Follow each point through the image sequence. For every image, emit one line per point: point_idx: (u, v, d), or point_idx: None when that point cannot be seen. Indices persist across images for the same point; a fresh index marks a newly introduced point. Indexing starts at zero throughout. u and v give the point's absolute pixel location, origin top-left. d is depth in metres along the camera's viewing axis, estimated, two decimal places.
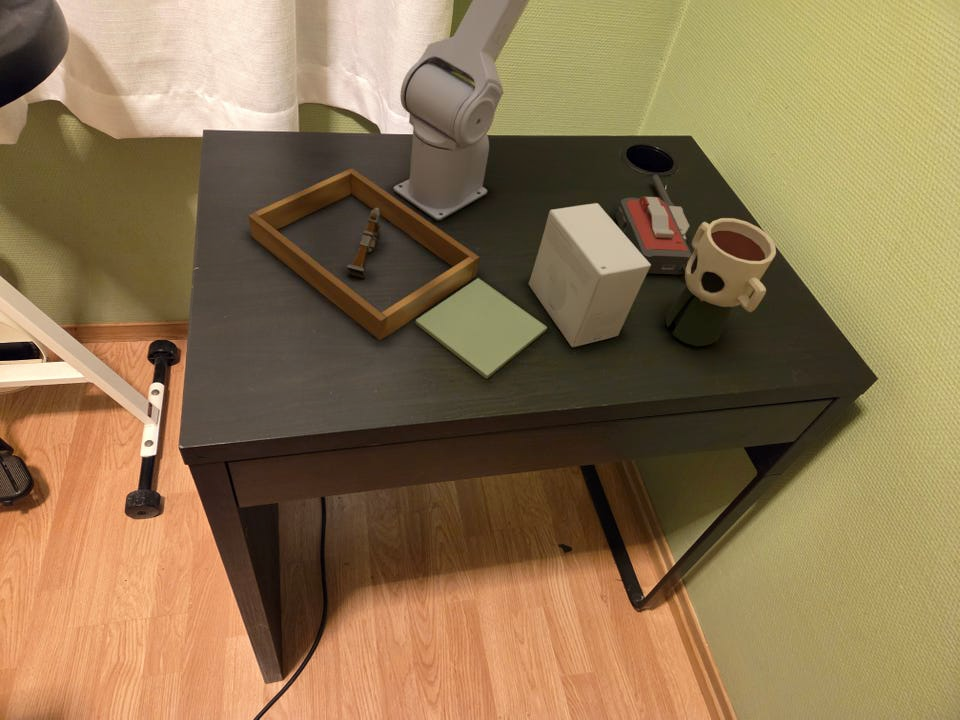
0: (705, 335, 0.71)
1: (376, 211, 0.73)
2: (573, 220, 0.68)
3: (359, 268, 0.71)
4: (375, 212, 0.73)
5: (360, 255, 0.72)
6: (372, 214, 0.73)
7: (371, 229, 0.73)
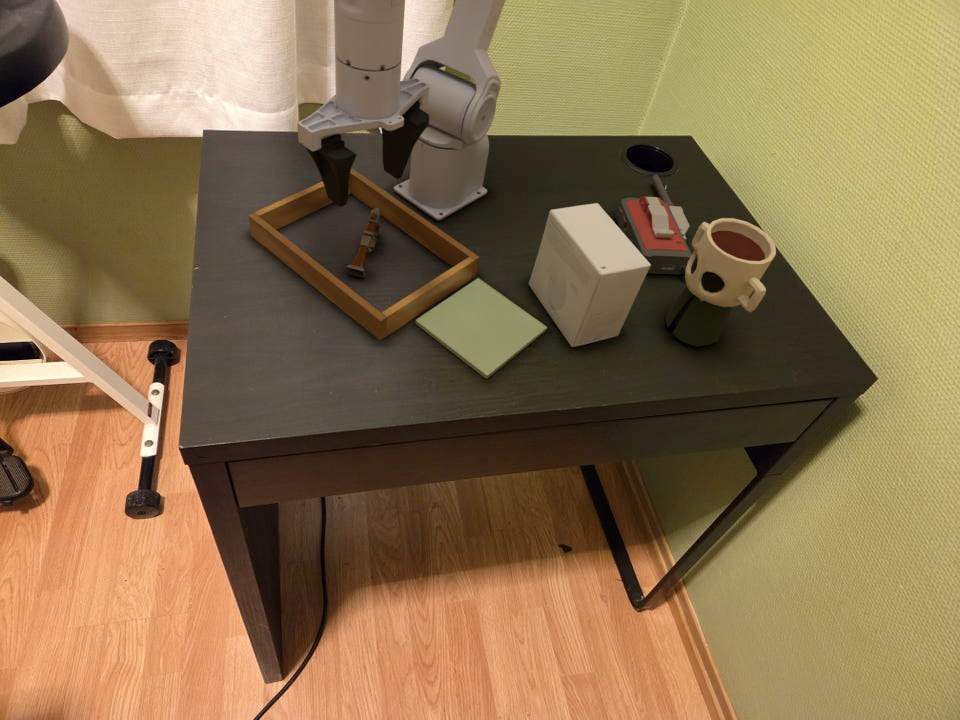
0: (705, 335, 0.71)
1: (376, 211, 0.73)
2: (573, 220, 0.68)
3: (359, 268, 0.71)
4: (375, 212, 0.73)
5: (360, 255, 0.72)
6: (372, 214, 0.73)
7: (371, 229, 0.73)
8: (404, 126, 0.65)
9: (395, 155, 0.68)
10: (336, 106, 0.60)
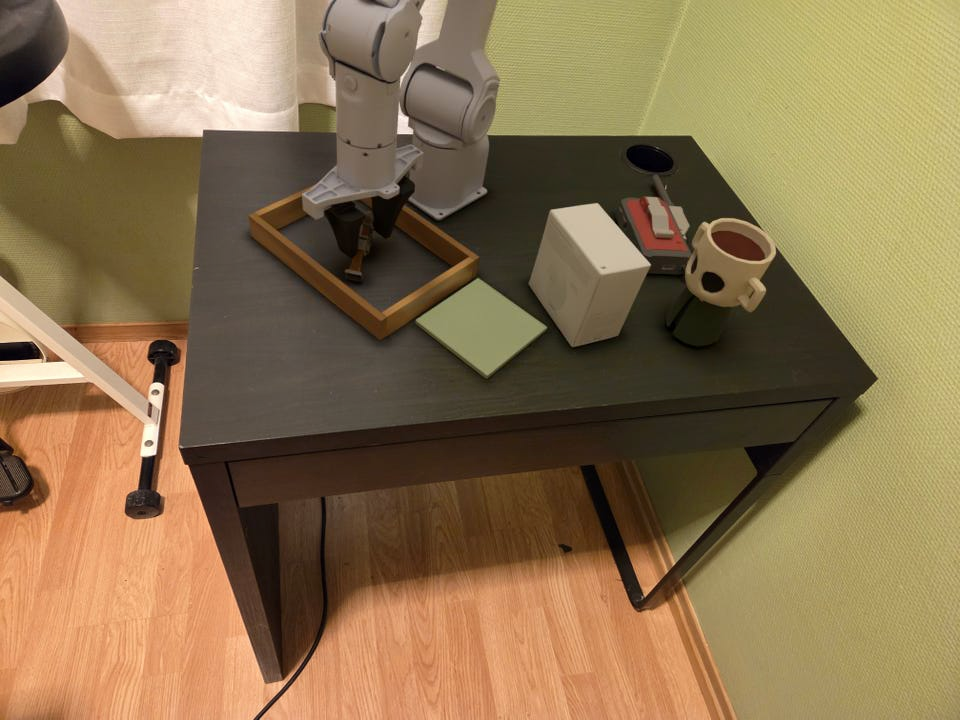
0: (705, 335, 0.71)
1: (370, 214, 0.73)
2: (573, 220, 0.68)
3: (357, 272, 0.71)
4: (369, 215, 0.73)
5: (357, 259, 0.71)
6: (366, 217, 0.72)
7: (366, 233, 0.72)
8: None
9: (383, 218, 0.73)
10: (337, 176, 0.65)
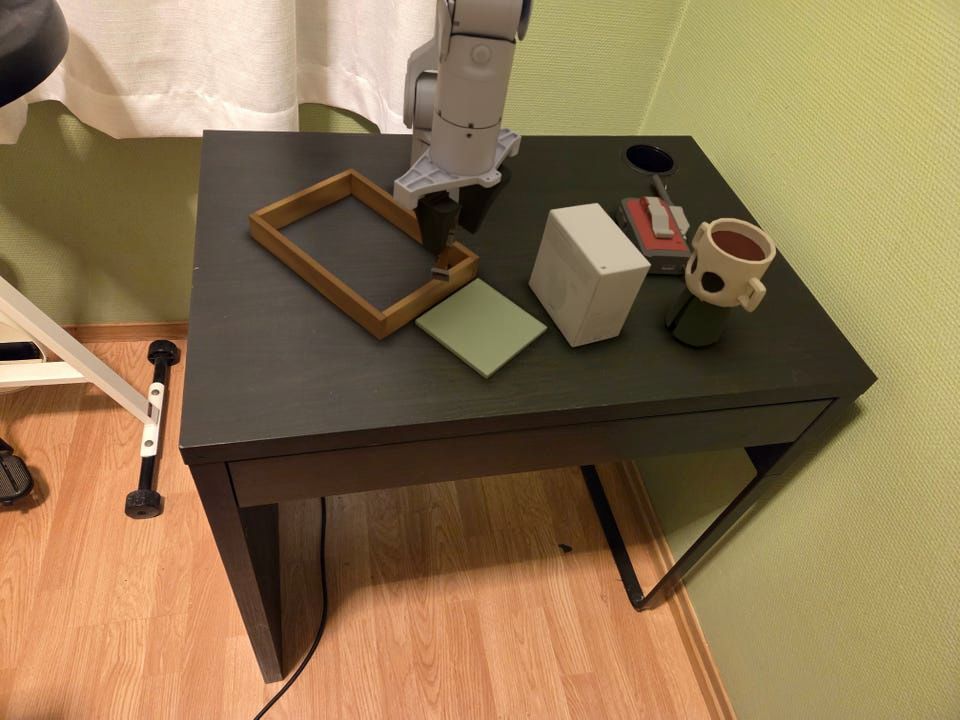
0: (705, 335, 0.71)
1: None
2: (573, 220, 0.68)
3: (445, 271, 0.62)
4: None
5: (443, 257, 0.63)
6: None
7: (453, 227, 0.64)
8: None
9: (472, 210, 0.65)
10: (431, 161, 0.57)
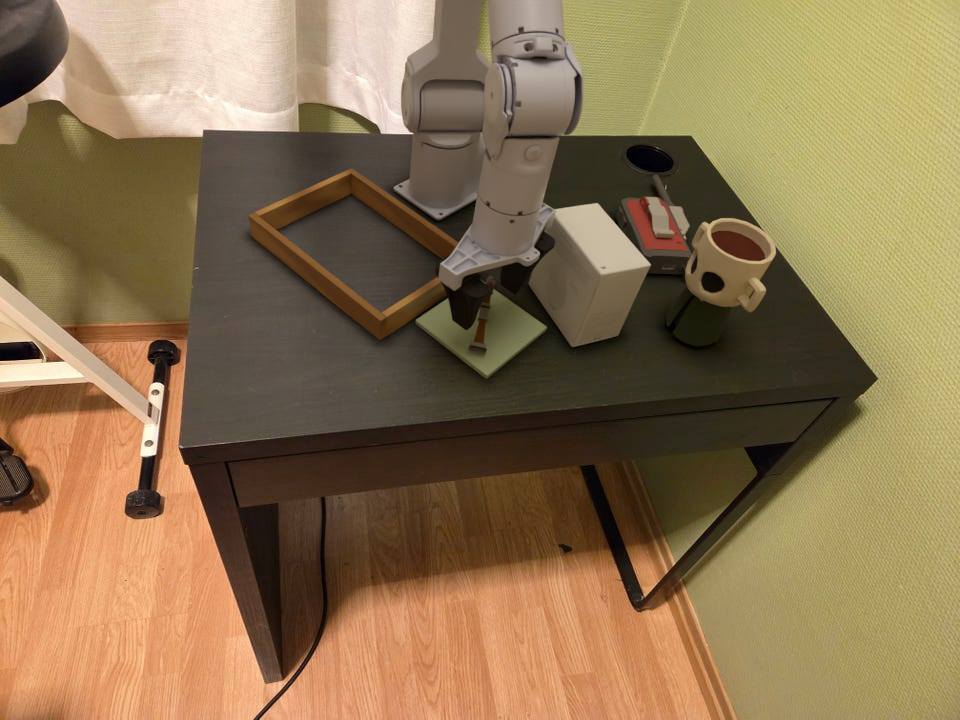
0: (705, 335, 0.71)
1: (491, 280, 0.68)
2: (573, 220, 0.68)
3: (482, 345, 0.66)
4: (491, 281, 0.68)
5: (480, 330, 0.67)
6: (489, 284, 0.67)
7: (488, 300, 0.68)
8: None
9: (515, 274, 0.68)
10: (473, 241, 0.60)
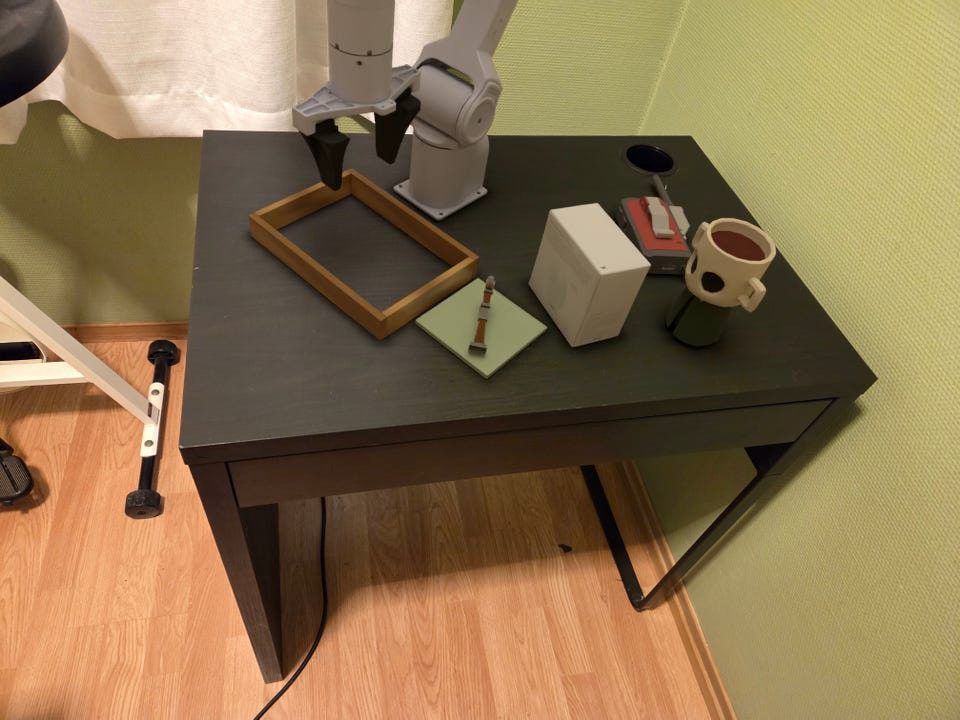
0: (705, 335, 0.71)
1: (492, 280, 0.68)
2: (573, 220, 0.68)
3: (482, 345, 0.66)
4: (491, 281, 0.68)
5: (480, 330, 0.67)
6: (489, 284, 0.67)
7: (488, 300, 0.68)
8: (396, 112, 0.66)
9: (388, 141, 0.69)
10: (329, 91, 0.61)
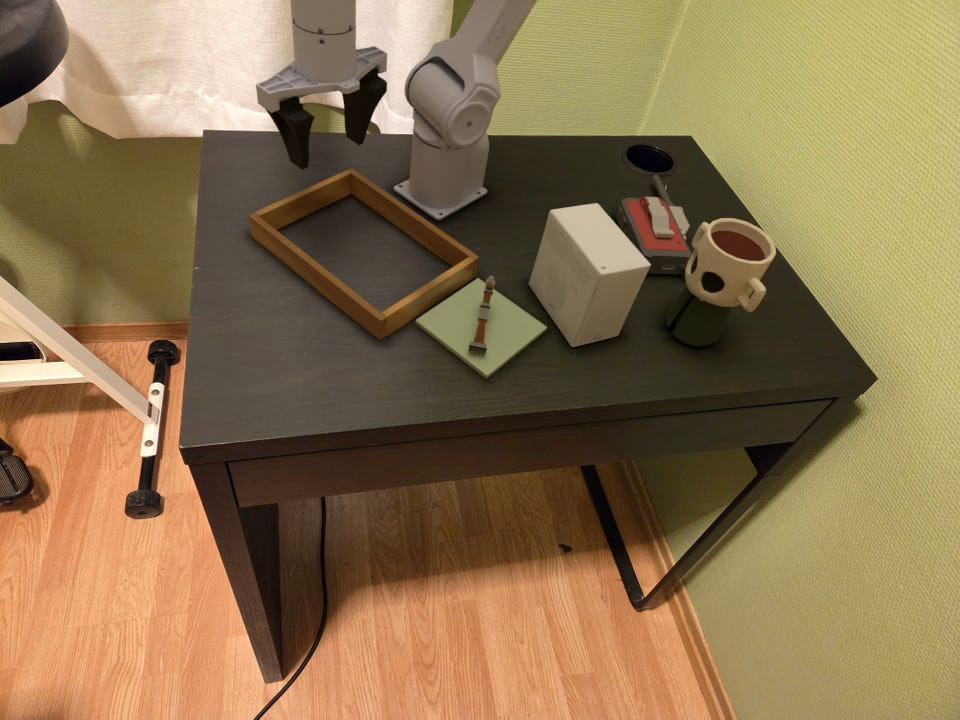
0: (705, 335, 0.71)
1: (492, 280, 0.68)
2: (573, 220, 0.68)
3: (482, 345, 0.66)
4: (491, 281, 0.68)
5: (480, 330, 0.67)
6: (489, 284, 0.67)
7: (488, 300, 0.68)
8: (363, 92, 0.68)
9: (356, 121, 0.71)
10: (295, 70, 0.63)
